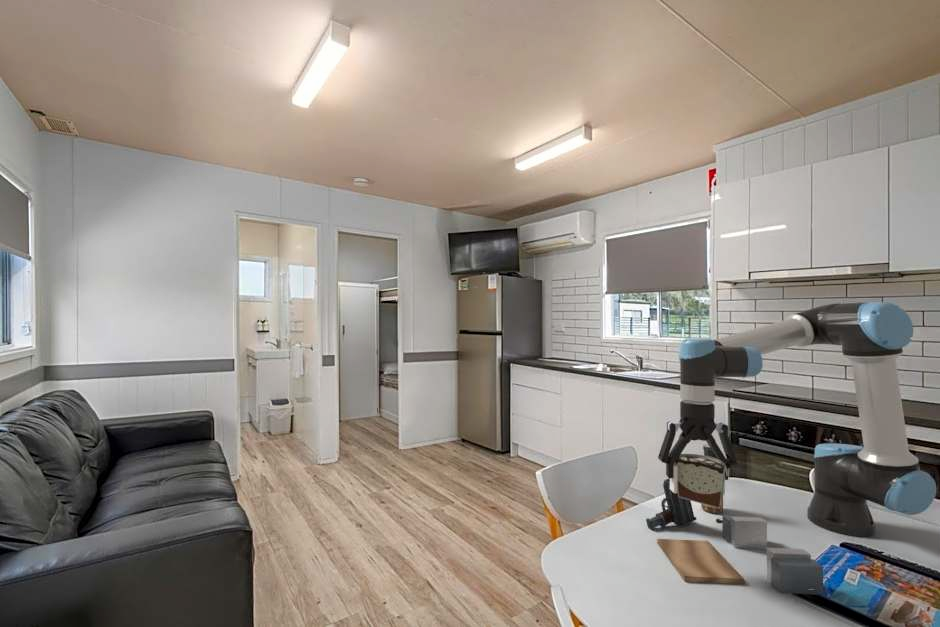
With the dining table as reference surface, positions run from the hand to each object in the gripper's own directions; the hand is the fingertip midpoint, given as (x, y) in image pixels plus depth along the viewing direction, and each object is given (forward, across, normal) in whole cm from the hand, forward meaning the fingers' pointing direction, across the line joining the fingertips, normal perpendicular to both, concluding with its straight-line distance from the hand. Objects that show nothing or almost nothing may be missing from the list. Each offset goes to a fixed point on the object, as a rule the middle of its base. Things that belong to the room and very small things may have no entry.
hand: (696, 491), depth 108 cm
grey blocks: (+17, -17, -3) cm, 24 cm away
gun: (+17, -1, -19) cm, 26 cm away
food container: (+2, -1, 0) cm, 2 cm away
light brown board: (+17, 0, 0) cm, 17 cm away
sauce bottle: (+17, -18, -31) cm, 40 cm away
